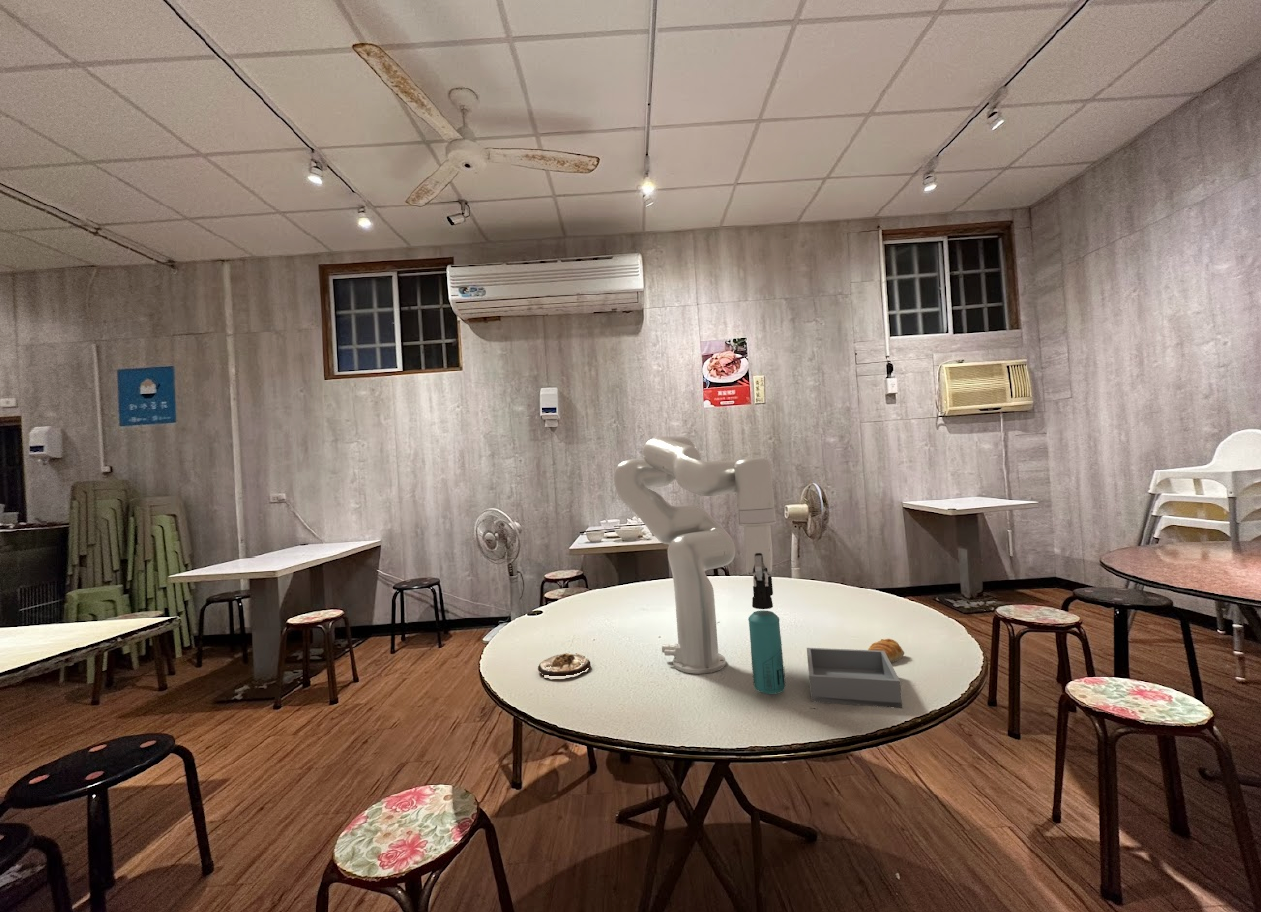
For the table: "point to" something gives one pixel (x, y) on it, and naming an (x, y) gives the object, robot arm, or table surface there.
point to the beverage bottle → (766, 651)
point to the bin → (853, 677)
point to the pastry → (888, 649)
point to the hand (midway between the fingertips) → (764, 600)
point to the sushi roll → (564, 665)
